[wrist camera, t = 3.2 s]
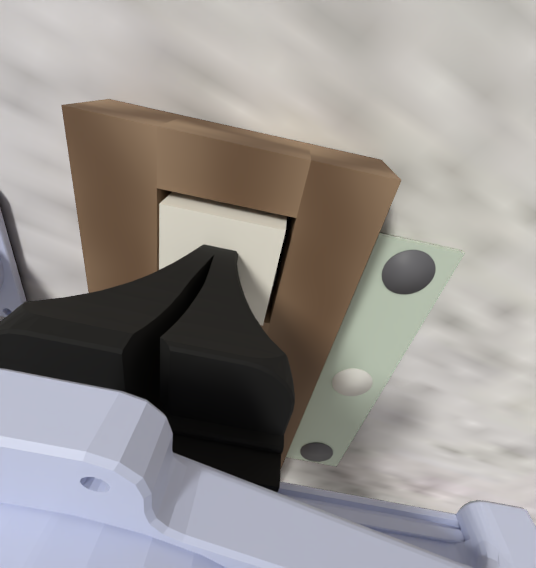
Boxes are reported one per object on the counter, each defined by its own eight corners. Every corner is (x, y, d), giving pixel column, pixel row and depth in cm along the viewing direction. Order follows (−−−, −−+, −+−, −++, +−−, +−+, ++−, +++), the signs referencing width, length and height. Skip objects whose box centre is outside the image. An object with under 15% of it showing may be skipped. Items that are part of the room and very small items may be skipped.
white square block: (182, 265, 16) (158, 304, 13) (187, 177, 14) (159, 203, 11) (269, 283, 16) (262, 325, 14) (288, 199, 14) (285, 230, 11)
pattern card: (286, 453, 25) (285, 458, 25) (377, 232, 15) (379, 235, 14) (335, 462, 25) (336, 467, 25) (461, 250, 15) (465, 254, 14)
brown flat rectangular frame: (134, 445, 26) (116, 485, 24) (108, 99, 13) (61, 105, 10) (266, 470, 27) (262, 511, 24) (381, 159, 13) (401, 180, 10)
